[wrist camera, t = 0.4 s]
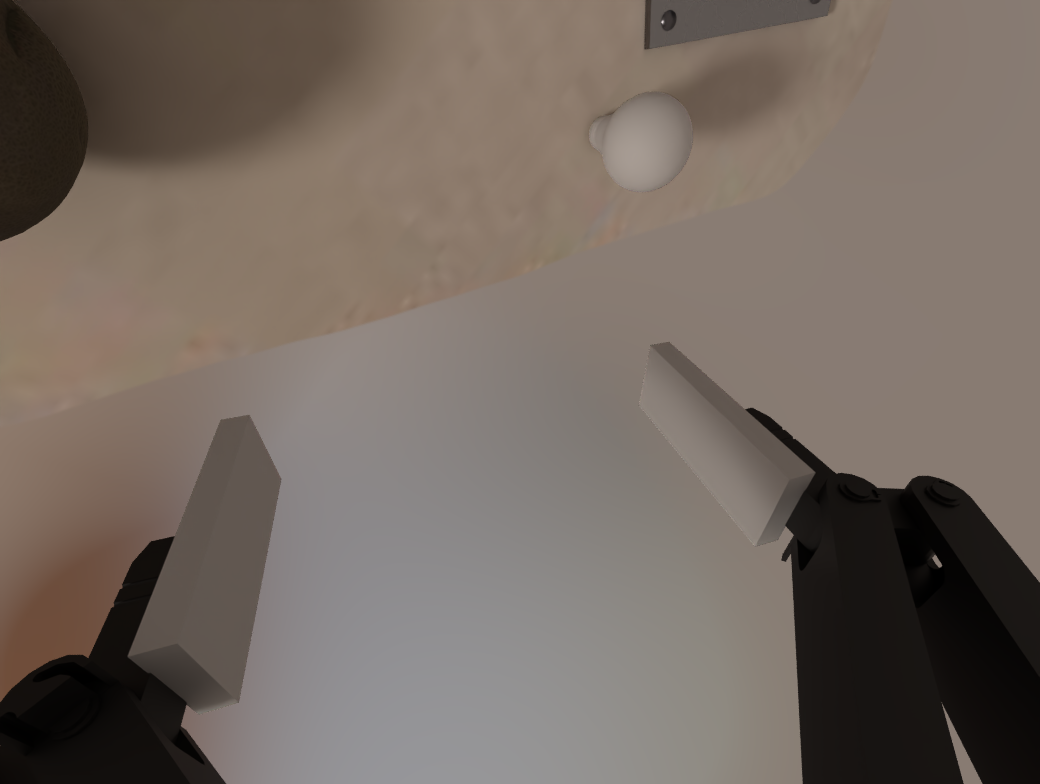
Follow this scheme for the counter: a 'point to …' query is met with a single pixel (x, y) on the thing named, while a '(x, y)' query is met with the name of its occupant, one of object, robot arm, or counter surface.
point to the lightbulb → (644, 141)
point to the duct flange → (721, 17)
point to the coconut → (35, 124)
